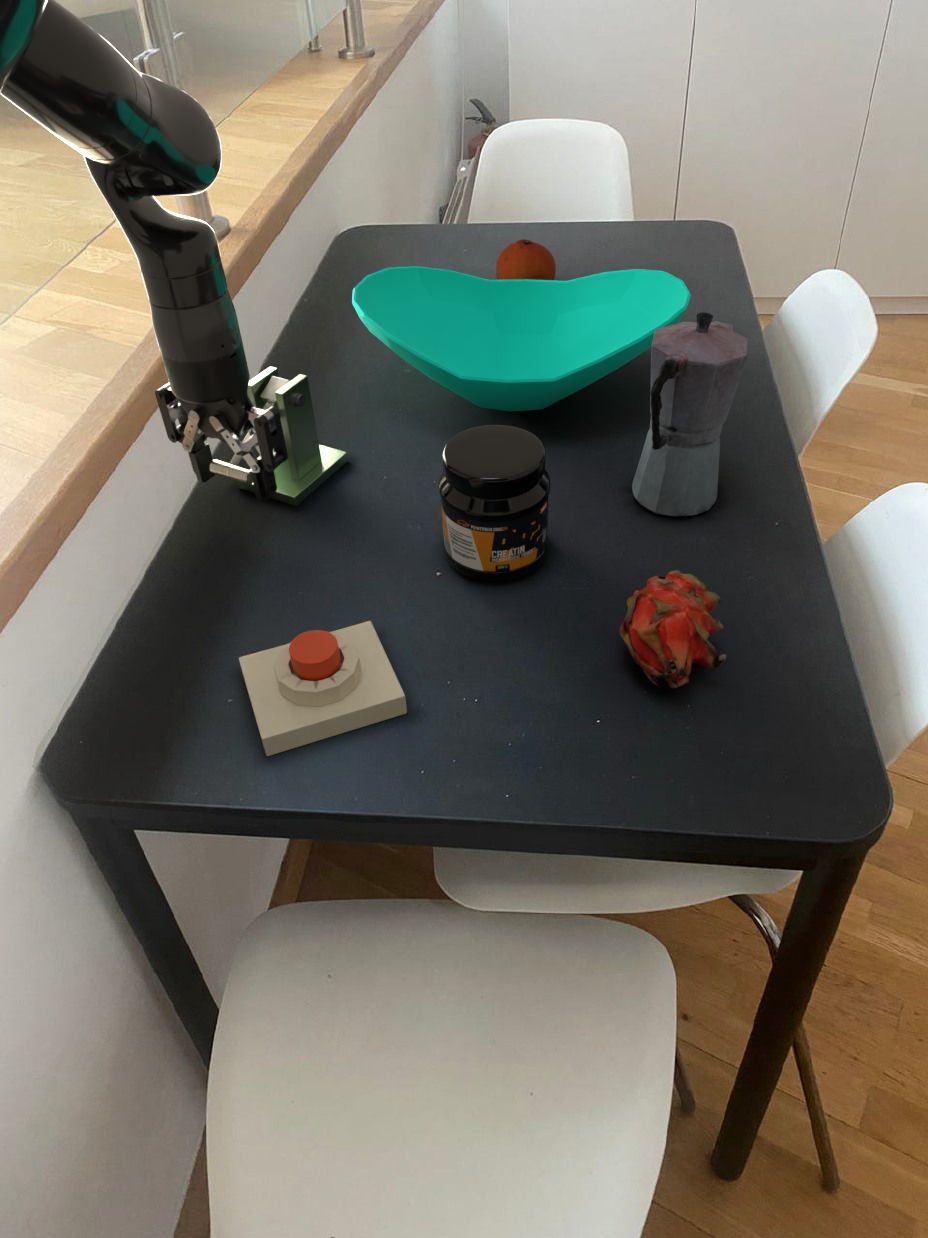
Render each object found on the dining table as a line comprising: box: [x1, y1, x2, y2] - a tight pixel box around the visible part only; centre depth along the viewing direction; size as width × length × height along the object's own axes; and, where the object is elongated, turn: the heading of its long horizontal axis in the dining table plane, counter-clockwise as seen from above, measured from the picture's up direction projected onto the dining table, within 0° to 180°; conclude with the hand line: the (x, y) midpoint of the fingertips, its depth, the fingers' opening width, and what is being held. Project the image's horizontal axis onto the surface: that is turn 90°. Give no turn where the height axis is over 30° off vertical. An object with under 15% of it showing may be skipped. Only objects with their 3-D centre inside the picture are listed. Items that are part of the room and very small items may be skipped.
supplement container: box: [438, 424, 551, 582], centre depth 88 cm, size 10×10×12 cm
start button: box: [289, 629, 341, 681], centre depth 76 cm, size 4×4×2 cm
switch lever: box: [209, 376, 291, 484], centre depth 96 cm, size 12×5×2 cm, turn 151°
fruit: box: [495, 239, 557, 280], centre depth 136 cm, size 9×9×8 cm
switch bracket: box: [237, 366, 349, 507], centre depth 101 cm, size 10×8×12 cm
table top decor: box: [351, 265, 692, 412], centre depth 112 cm, size 40×28×13 cm
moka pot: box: [631, 311, 749, 517], centre depth 91 cm, size 10×15×20 cm, turn 148°
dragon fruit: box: [619, 569, 727, 689], centre depth 78 cm, size 8×8×12 cm
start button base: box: [238, 620, 408, 757], centre depth 78 cm, size 12×10×4 cm
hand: (236, 487), depth 96 cm, fingers open, 7 cm apart
